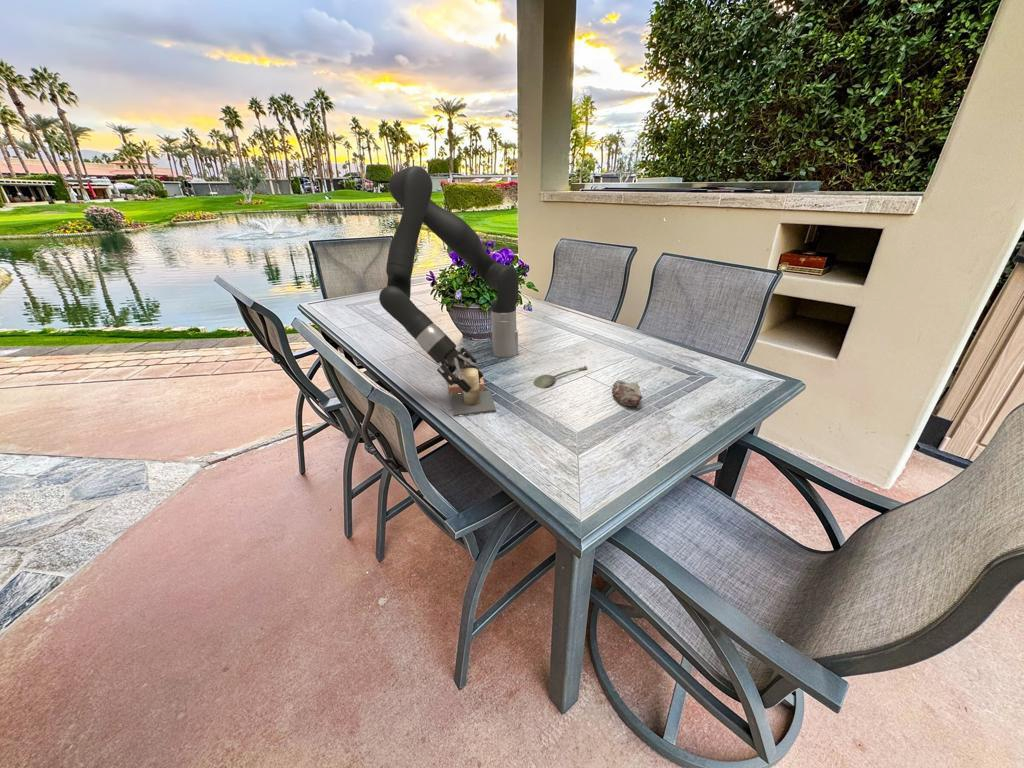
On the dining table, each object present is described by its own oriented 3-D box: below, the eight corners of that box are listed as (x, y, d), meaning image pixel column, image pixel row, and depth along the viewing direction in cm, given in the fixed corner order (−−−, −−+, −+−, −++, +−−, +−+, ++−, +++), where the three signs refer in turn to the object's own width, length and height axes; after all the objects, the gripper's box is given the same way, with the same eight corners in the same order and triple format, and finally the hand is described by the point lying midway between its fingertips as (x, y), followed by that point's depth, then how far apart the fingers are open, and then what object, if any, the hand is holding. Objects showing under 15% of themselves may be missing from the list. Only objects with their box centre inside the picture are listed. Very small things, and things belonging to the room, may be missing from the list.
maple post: (479, 397, 120) (477, 367, 115) (481, 404, 115) (478, 374, 111) (463, 398, 119) (460, 368, 114) (464, 406, 115) (461, 375, 110)
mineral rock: (610, 386, 126) (611, 374, 124) (636, 387, 124) (638, 375, 122) (613, 410, 113) (614, 397, 111) (642, 412, 111) (643, 398, 109)
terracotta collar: (480, 375, 134) (480, 369, 133) (484, 390, 125) (484, 383, 124) (448, 379, 133) (447, 372, 132) (449, 394, 123) (449, 387, 122)
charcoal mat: (490, 392, 124) (490, 390, 123) (495, 411, 113) (495, 409, 113) (451, 396, 122) (451, 394, 121) (454, 416, 111) (453, 414, 111)
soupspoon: (529, 385, 130) (541, 394, 125) (529, 376, 128) (541, 384, 123) (579, 366, 140) (592, 373, 135) (580, 358, 138) (593, 365, 133)
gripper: (430, 344, 104) (473, 388, 106) (454, 327, 116) (492, 366, 118) (415, 360, 108) (457, 402, 110) (440, 342, 120) (477, 380, 122)
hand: (475, 384), depth 114 cm, fingers open, 8 cm apart
